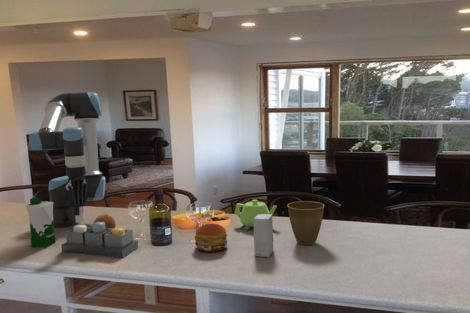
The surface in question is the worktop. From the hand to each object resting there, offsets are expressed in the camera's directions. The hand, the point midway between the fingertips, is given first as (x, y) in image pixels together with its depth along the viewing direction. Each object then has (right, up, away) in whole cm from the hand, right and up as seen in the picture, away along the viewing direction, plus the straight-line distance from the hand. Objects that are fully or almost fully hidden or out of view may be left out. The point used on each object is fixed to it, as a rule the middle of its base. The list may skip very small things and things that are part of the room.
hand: (79, 222), depth 181 cm
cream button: (0, -7, +1) cm, 7 cm away
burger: (+55, -10, -3) cm, 56 cm away
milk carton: (-18, -11, +7) cm, 22 cm away
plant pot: (+93, -9, 0) cm, 94 cm away
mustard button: (+17, -7, -5) cm, 19 cm away
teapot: (+74, -6, +25) cm, 78 cm away
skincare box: (+75, -11, -11) cm, 77 cm away
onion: (+5, -9, +17) cm, 20 cm away
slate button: (+9, -5, -2) cm, 10 cm away
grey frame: (+9, -11, -2) cm, 14 cm away
